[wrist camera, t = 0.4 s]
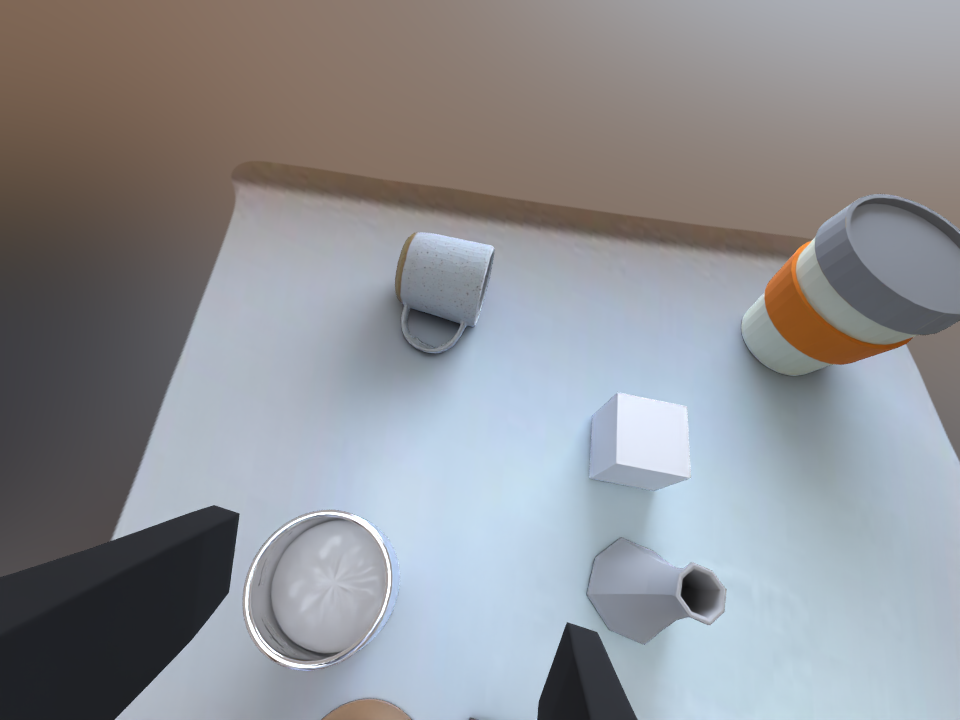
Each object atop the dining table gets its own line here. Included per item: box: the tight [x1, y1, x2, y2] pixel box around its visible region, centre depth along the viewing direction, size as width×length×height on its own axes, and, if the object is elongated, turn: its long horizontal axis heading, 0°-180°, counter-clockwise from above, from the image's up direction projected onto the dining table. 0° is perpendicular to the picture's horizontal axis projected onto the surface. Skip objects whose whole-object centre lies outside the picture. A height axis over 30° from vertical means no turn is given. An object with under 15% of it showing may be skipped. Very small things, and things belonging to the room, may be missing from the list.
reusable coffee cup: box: [741, 194, 960, 376], centre depth 42 cm, size 13×12×15 cm
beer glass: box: [243, 510, 400, 671], centre depth 27 cm, size 7×7×15 cm
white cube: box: [589, 392, 691, 491], centre depth 38 cm, size 6×6×6 cm
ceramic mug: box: [395, 232, 495, 353], centre depth 41 cm, size 11×8×8 cm
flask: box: [587, 538, 726, 645], centre depth 31 cm, size 7×7×10 cm
